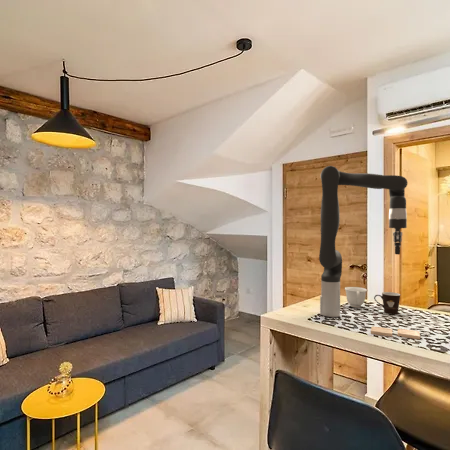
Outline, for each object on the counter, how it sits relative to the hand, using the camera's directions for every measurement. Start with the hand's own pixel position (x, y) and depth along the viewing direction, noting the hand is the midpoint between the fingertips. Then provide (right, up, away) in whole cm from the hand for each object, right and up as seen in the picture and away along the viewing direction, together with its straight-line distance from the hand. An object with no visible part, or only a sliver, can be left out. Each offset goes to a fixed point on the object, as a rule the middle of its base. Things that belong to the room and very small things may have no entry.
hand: (397, 254), depth 155 cm
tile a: (-15, -31, -14) cm, 38 cm away
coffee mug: (+3, -32, +15) cm, 36 cm away
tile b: (-5, -32, -17) cm, 36 cm away
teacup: (-10, -32, +25) cm, 42 cm away
